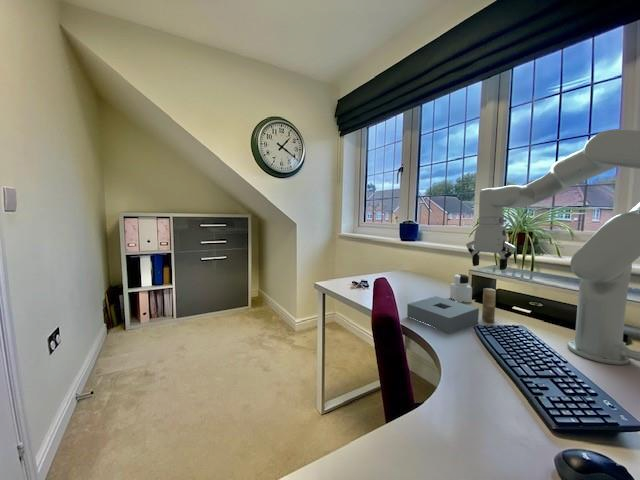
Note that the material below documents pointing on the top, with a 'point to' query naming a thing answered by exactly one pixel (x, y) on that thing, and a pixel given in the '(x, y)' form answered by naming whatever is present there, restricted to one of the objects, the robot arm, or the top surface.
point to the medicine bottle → (461, 289)
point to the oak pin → (488, 305)
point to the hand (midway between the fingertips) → (488, 267)
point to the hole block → (443, 313)
